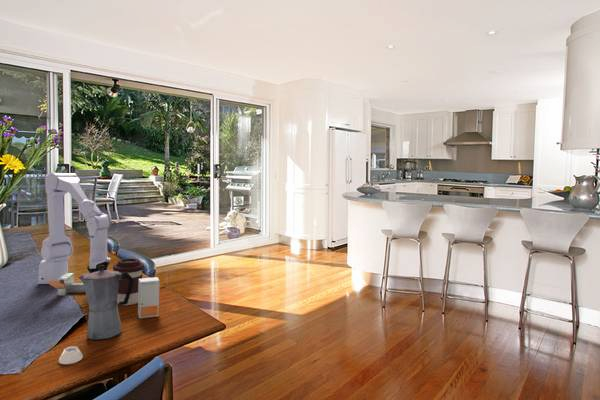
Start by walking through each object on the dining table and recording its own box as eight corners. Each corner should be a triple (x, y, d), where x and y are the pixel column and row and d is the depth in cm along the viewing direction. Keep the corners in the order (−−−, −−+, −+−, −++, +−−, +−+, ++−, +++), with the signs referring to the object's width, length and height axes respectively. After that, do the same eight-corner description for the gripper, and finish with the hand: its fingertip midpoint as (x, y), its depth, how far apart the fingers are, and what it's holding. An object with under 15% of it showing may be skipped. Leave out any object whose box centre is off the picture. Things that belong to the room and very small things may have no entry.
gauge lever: (47, 284, 131) (48, 280, 132) (56, 289, 138) (57, 285, 138) (57, 284, 132) (58, 280, 132) (65, 289, 138) (66, 285, 139)
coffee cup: (146, 297, 141) (146, 257, 140) (139, 307, 131) (140, 263, 130) (117, 297, 139) (117, 257, 138) (108, 307, 129) (109, 264, 128)
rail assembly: (57, 295, 139) (57, 279, 138) (66, 288, 147) (66, 273, 146) (112, 294, 142) (112, 278, 142) (118, 287, 150) (118, 272, 150)
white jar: (78, 353, 98) (56, 360, 94) (78, 342, 98) (55, 348, 94) (85, 360, 95) (62, 368, 91) (85, 349, 95) (62, 356, 91)
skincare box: (138, 319, 121) (139, 282, 120) (137, 314, 125) (138, 278, 124) (159, 316, 124) (159, 280, 123) (157, 312, 128) (157, 276, 127)
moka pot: (86, 326, 114) (86, 260, 112) (139, 327, 115) (140, 261, 114) (69, 341, 104) (69, 268, 103) (128, 341, 106) (128, 270, 104)
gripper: (104, 251, 138) (104, 288, 139) (115, 243, 152) (115, 276, 153) (83, 251, 136) (83, 288, 137) (96, 243, 150) (96, 277, 151)
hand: (98, 282), depth 145 cm, fingers closed on carriage, 4 cm apart
